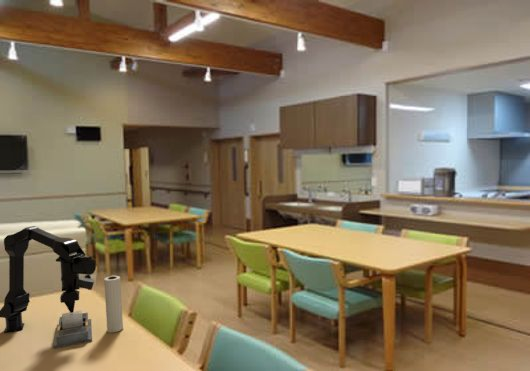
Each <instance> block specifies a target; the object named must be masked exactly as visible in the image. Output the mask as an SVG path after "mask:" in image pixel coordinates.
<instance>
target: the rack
mask: <svg viewBox="0 0 530 371" xmlns="http://www.w3.org/2000/svg"><path fill="white" fill-rule="evenodd" d="M82 319H83V327H78V328H73V329H67V330H63V329H62V316H59V320H58V324H56V328H55V332H54V338H53V339H54V340H53V345H52V347H53V349H59V348H63V347H68V346H74V345H78V344H79V345H80V344H84V343H90V342H93V331H92V330H93V329H92V328H93V327H92V318H89V312H82Z"/></svg>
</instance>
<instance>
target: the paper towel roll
mask: <svg viewBox="0 0 530 371" xmlns="http://www.w3.org/2000/svg"><path fill="white" fill-rule="evenodd" d="M103 280H104V294H105V295H104V298H105V311H106V313H105V315H106V330H107V332H108V333H117V332H120V331H122V330H123V329H124V322H123V320H124V318H123V302H122V285H121V284H122V283H121V276H119V275H113V274H111V275H110V276H107V277H104V279H103Z"/></svg>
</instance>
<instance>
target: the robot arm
mask: <svg viewBox="0 0 530 371" xmlns="http://www.w3.org/2000/svg"><path fill="white" fill-rule="evenodd" d="M31 240H33V241H35V242H37V243H39V244H42V245H45V246H47V247H49V248H50V249H52V251H53V253H54V254H56V255H57V256H58V257H57V258H56V259H55V262H58V263H60V274H61V275H60V276H61V277H60V281H61V292H62V293H61V294H60V297H59V298H60V299H59V300H60V303H64V304H65V306H66V308H67V310H68V312H70V313H73V312H75V304H76V301H79V300H80V288H81V289H85V290H88V291H92V290H93V287H94V284H95V279H94V278H91V277H92V276H91V275H92V274H94V273H95V271H96V268H97V263H96V261H95V260H94V259H93V257H92V256H91V255H88V256H87V255H86V253H85V252H84V250H83V248H81V245H80V243H79V241H78V240H76V239H74V238H70V237H60V236H58V235H55V234H52V233H50V232H48V231H46V230H43V229H42V228H40V227H39V226H35V225H33V226H32V225H31V226H27V227H24V228H23V229H21V230H20V231H17V232H15V233H11V234H8V235H6V236H5V237H4V239H3V246H4V251H5V252H6V254H7V255H8V258H9V261H8V263H9V266H8V267H9V268H8V269H9V270H8V275H9V276H8V278H9V282H8V284H9V285H8V291H7V293H6V295H5V297H4V301H3V305H2V307H1V308H0V318H3V319H4V320H5V328H4V330H3V333H4V334H5V333H10V332H11V333H12V332H16V331H22V330H23V329H24V328H25V327H24V326H25V322H23V315H22V314H23V313H24V312H26V311H27V310H28V306H29V303H31V302H30V292H27V291H26V290H25V289H24V286H25V284H24V283H25V281H24V280H25V279H24V278H25V276H24V275H25V272H24V271H25V270H24V269H25V268H24V266H25V254H26V252H27V251H28V248H29V244H30V241H31ZM80 275H84V276H80Z"/></svg>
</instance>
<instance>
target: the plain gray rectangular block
mask: <svg viewBox="0 0 530 371" xmlns="http://www.w3.org/2000/svg"><path fill="white" fill-rule="evenodd" d="M82 313H83V310H77V311H76V310H75V311H74V312H73V313H70V311H68V312H64V313H61V317H62V329H63V330H67V329H73V328H78V327H83V319H82Z"/></svg>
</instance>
